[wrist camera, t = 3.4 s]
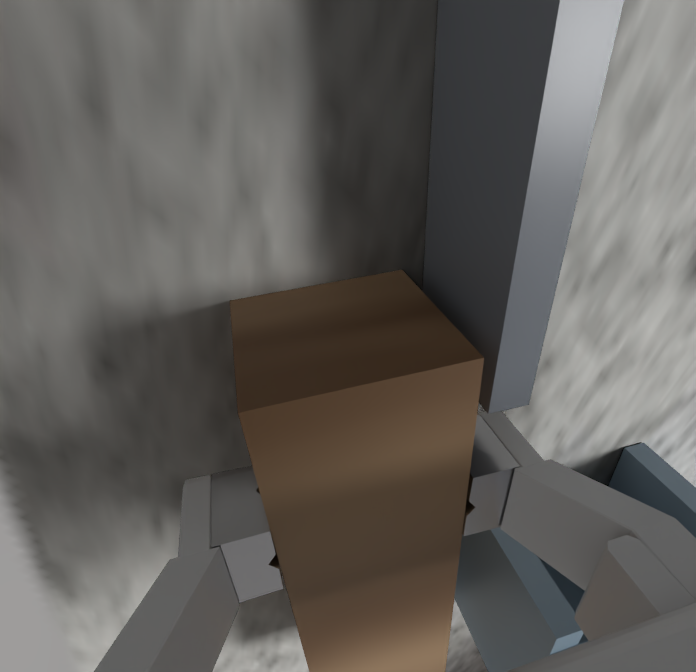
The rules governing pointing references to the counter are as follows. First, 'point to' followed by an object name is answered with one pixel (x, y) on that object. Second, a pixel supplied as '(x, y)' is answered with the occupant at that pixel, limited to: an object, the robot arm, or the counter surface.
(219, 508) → the robot arm
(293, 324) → the brown rectangular block
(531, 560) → the socket
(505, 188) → the frame
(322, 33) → the counter surface
